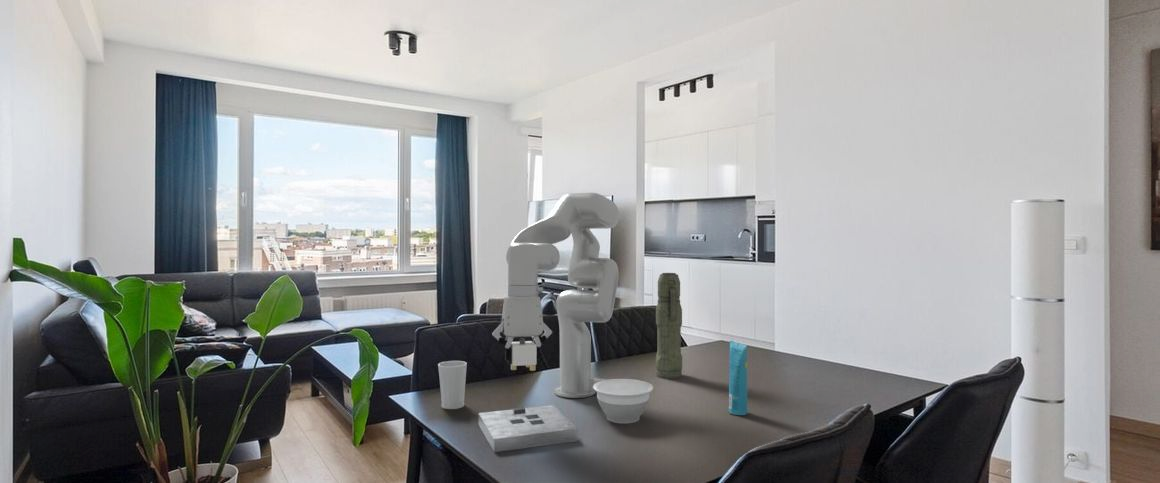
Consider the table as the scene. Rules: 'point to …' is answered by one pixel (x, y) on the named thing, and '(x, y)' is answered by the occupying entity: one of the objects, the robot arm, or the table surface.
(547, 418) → the socket
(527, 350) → the plug
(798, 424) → the table surface
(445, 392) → the cup
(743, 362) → the tube
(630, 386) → the bowl
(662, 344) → the thermos
